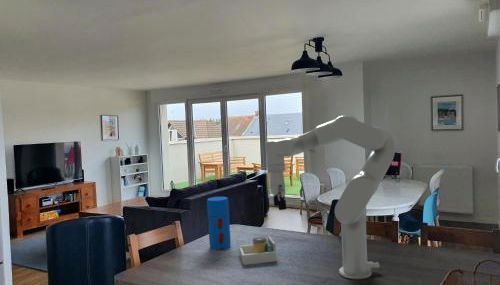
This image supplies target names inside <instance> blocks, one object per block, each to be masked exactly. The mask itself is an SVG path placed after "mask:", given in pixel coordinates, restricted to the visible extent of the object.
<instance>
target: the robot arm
mask: <svg viewBox="0 0 500 285" xmlns="http://www.w3.org/2000/svg"><path fill="white" fill-rule="evenodd" d="M342 140H345V142H350V144H351V143H352V144H354V145H357V146H358V147H360V148H363V149H365V150H367V151H368V150H369V151H370V153H369V156H368V157H367V158H366V160H365V162H364V164H363V166H362V168H361V169H360V171H359V172H358V173H357V174H355V175H354V176H353V177H352V178H351V179H350V180H349V182H348V183H347V185H346V187H345V188H344V190H343V192H342V193H341V196H340V197H339V199H338V201H337V203H336V204H335V207H334V216H335V218H336V220H337V221H339V223H341V224H340V225H341V226H340V227H341V228H340V230H341V251H342V255H341V256H342V266H341V267H340V268H339V271H338V272H339V274H340V276H342V277H343V278H347V279H351V280H365V279H368V278H370V277H371V276H372V274H373V272H372V271H373V270H372V269H375V268H376V269H378V268H380V263H379V262H374V261H373V260H371V261H368V249H367V248H368V247H367V246H368V243H367V205H368V204H369V202H370V200H371V199H372V197H373V196H374V195H375V194H376V192H377V190H378V189H379V186H380V184H381V182H382V180H383V179H384V177H385V175H386V174H387V172H388V170H389V168H390V166H391V165H392V162H393V160H394V158H395V153H396V152H395V151H396V145H395V141H394V139H393V136H392V135H391V133H390V132H389V131H388V130H387V129H386V128H385V127H383V126H377V125H376V126H372V125H369V124H368V123H364V122H361V121H359V120H358V118H357V117H355V116H354V115H352V114H343V115H340V116H338V117H336V118H335V119H333V120H330V121H327V122H325V123H322V124H319V125H317V126H315V127H314V128H313V129H312V130H310V131H308V132H306V133H303V134H299V135H297V136H293V137H289V138H283V139H271V140H266V142H265V146H264V148H265V154H266V166H267V173H269V186H270V187H269V188H270V193H271V194H272V196H273V198H272V199H273V205H274V207H278V210H279V211H283V210H284V211H285V210H287V201H286V195H285V194H286V184H285V175H284V172H286V165H285V164H286V163H285V157H293V156H296V155H300V154H302V153H305V152H307V151H312V150H314V149H317V148H321V147H325V146H328V145H330V144H333V143H337V142H339V141H342Z"/></svg>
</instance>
